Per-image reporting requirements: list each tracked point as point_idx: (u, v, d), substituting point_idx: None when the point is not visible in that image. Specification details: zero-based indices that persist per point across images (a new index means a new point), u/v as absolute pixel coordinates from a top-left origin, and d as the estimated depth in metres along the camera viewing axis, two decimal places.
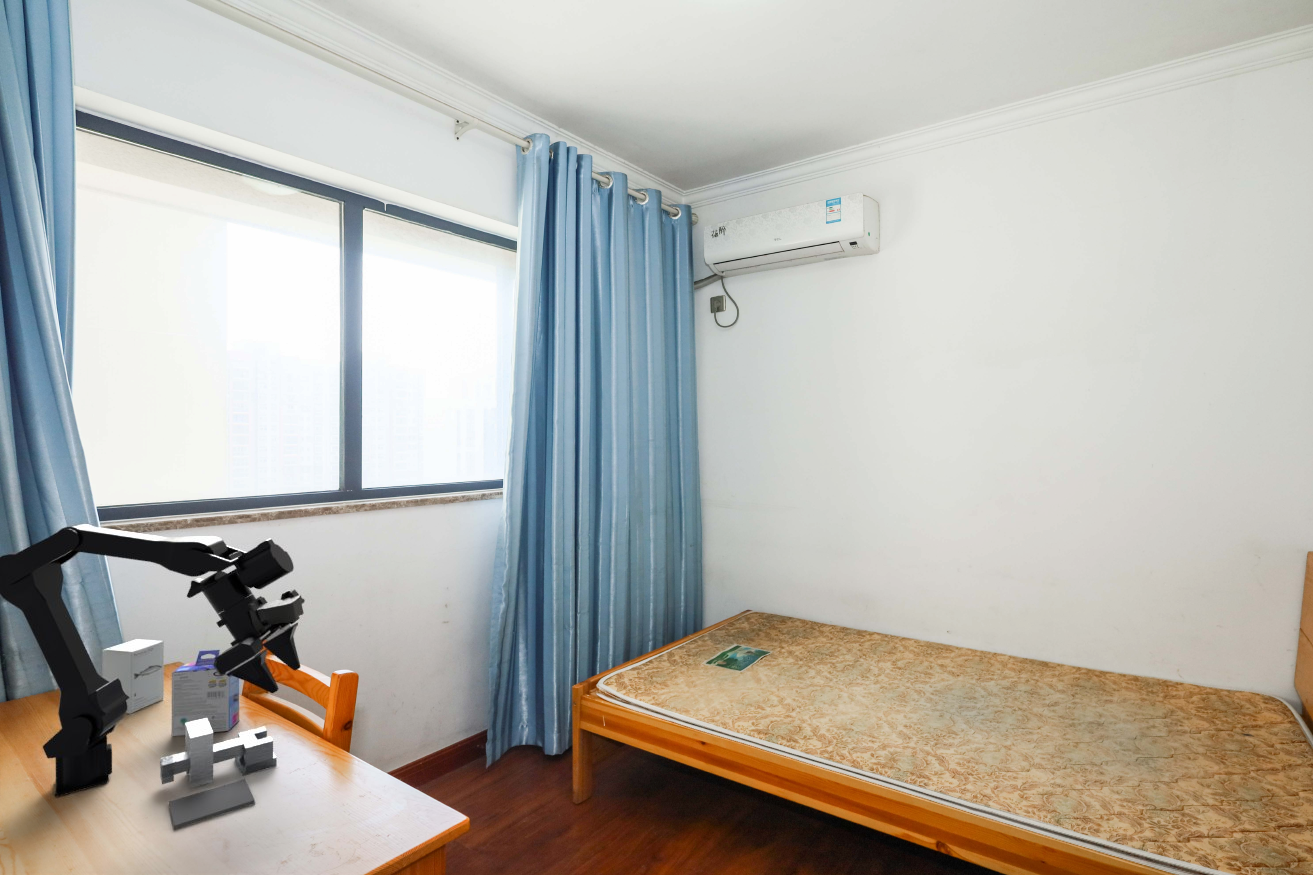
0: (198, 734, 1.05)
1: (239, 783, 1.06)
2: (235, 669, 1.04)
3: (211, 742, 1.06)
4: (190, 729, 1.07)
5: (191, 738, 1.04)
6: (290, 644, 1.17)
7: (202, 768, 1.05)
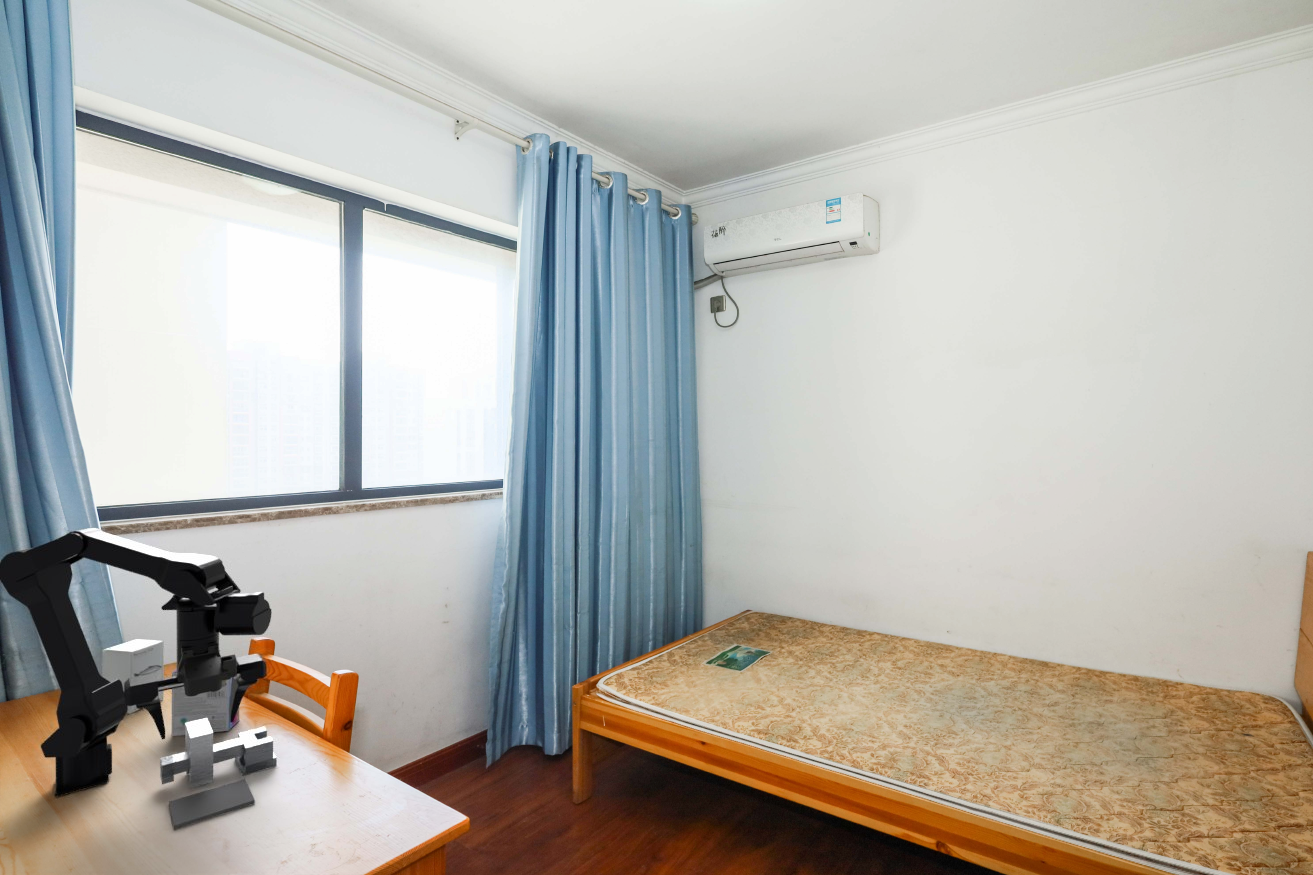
0: (198, 734, 1.05)
1: (239, 783, 1.06)
2: None
3: (211, 742, 1.06)
4: (190, 729, 1.07)
5: (191, 738, 1.04)
6: (234, 697, 1.10)
7: (202, 768, 1.05)
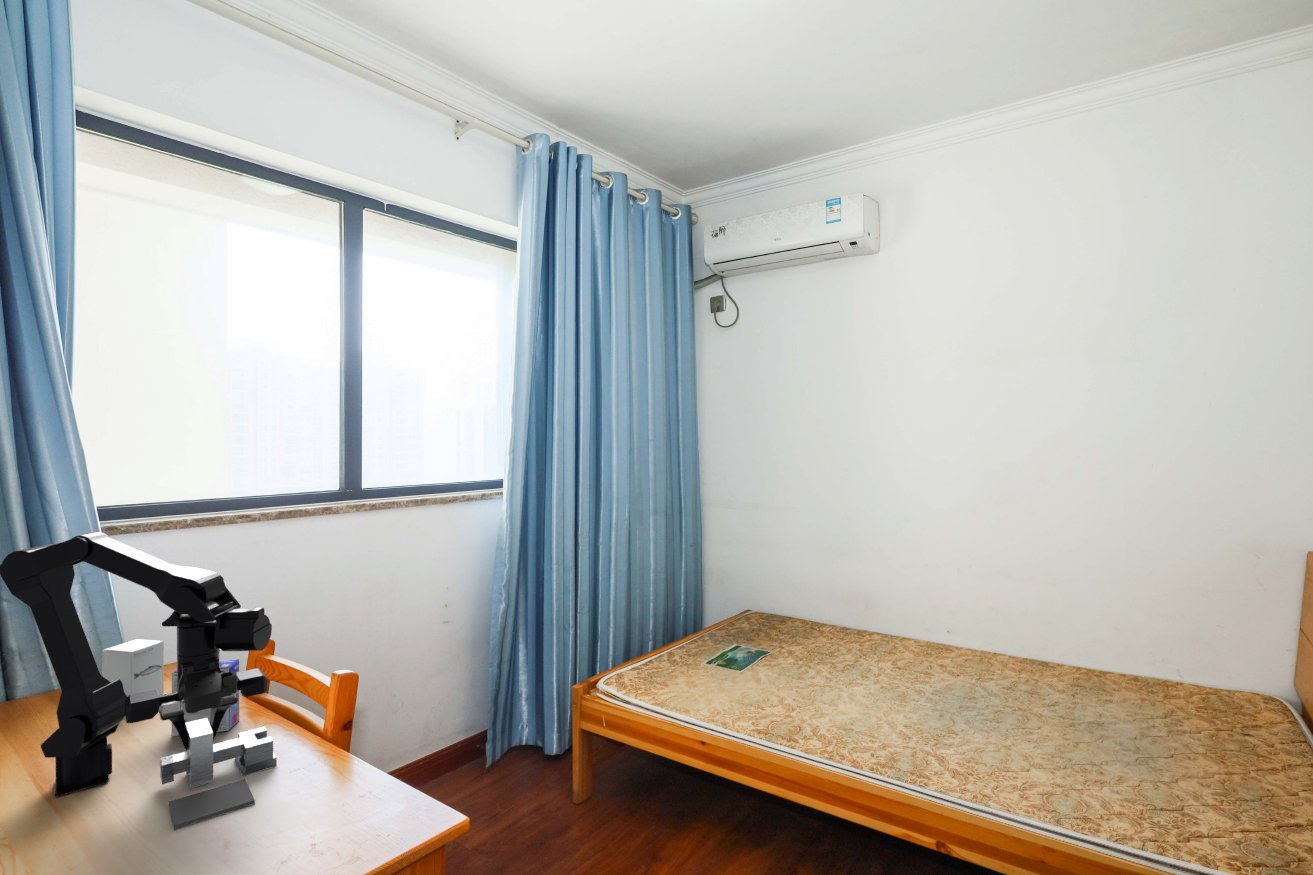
0: (198, 734, 1.05)
1: (239, 783, 1.06)
2: None
3: (211, 742, 1.06)
4: (190, 729, 1.07)
5: (191, 738, 1.04)
6: (213, 717, 1.08)
7: (202, 768, 1.05)
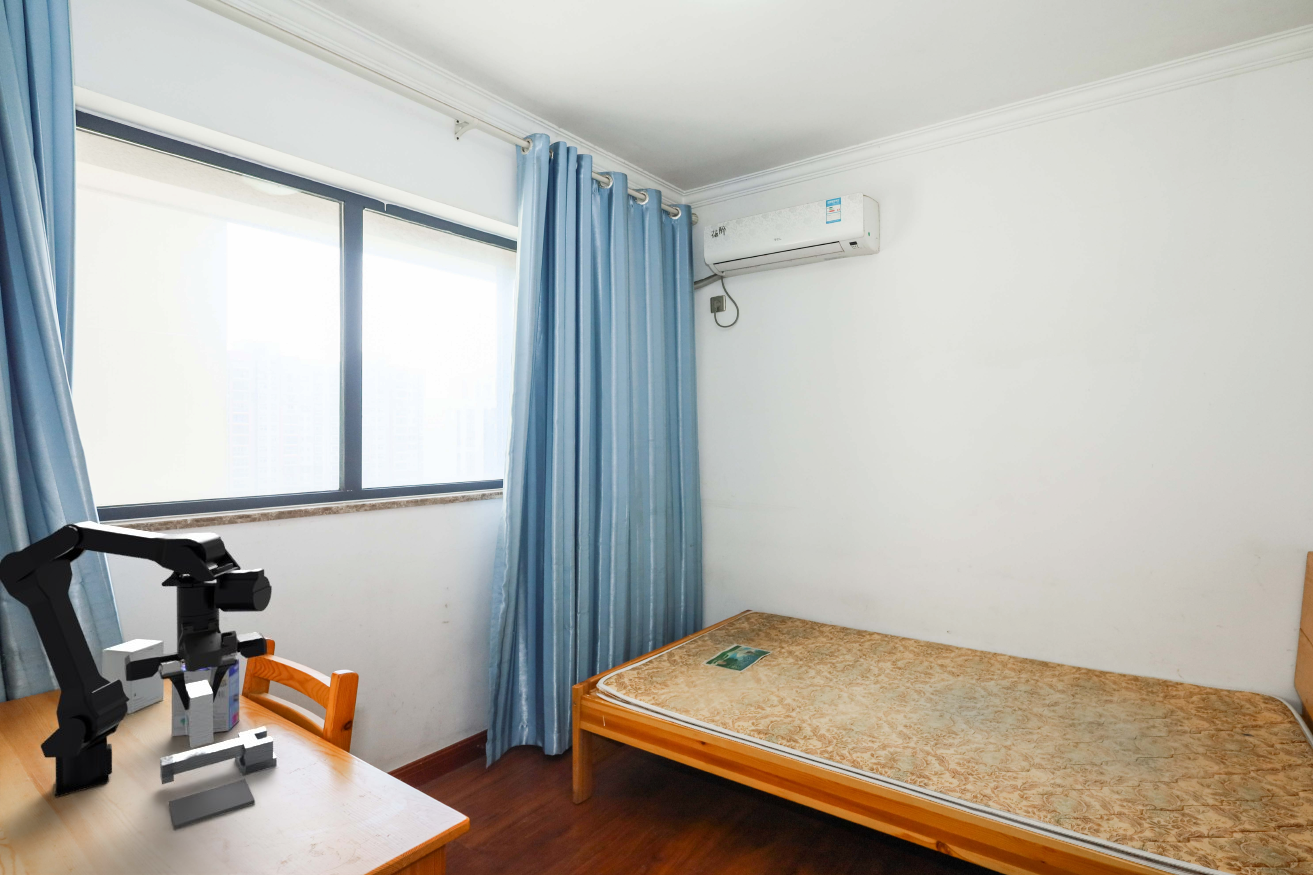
0: (198, 694, 1.05)
1: (239, 783, 1.06)
2: (159, 670, 1.05)
3: (211, 702, 1.06)
4: (190, 690, 1.07)
5: (191, 698, 1.04)
6: (213, 678, 1.08)
7: (202, 728, 1.05)
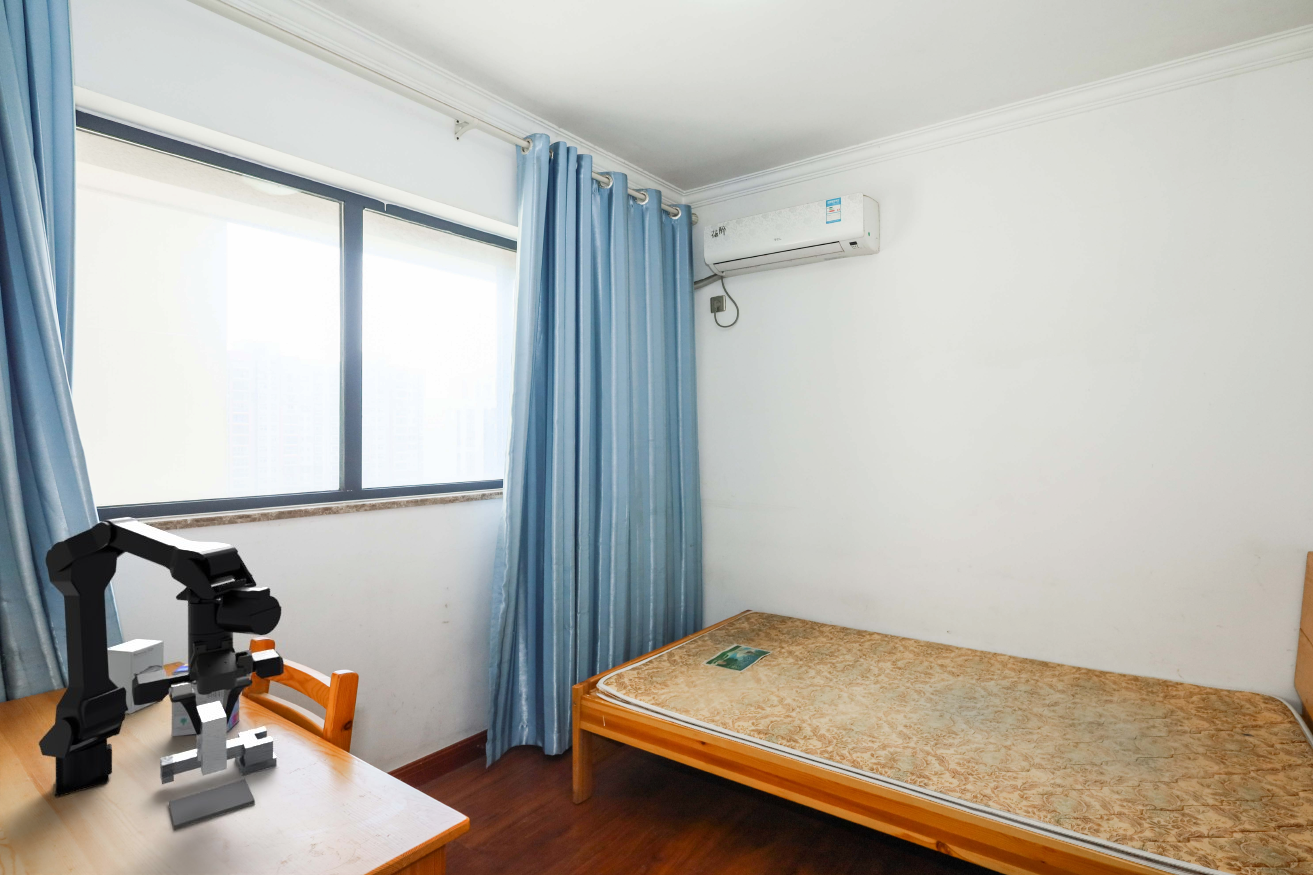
0: (210, 718, 0.98)
1: (239, 783, 1.06)
2: (169, 692, 0.98)
3: (224, 726, 0.99)
4: (202, 713, 1.00)
5: (203, 722, 0.97)
6: (227, 700, 1.01)
7: (215, 754, 0.98)
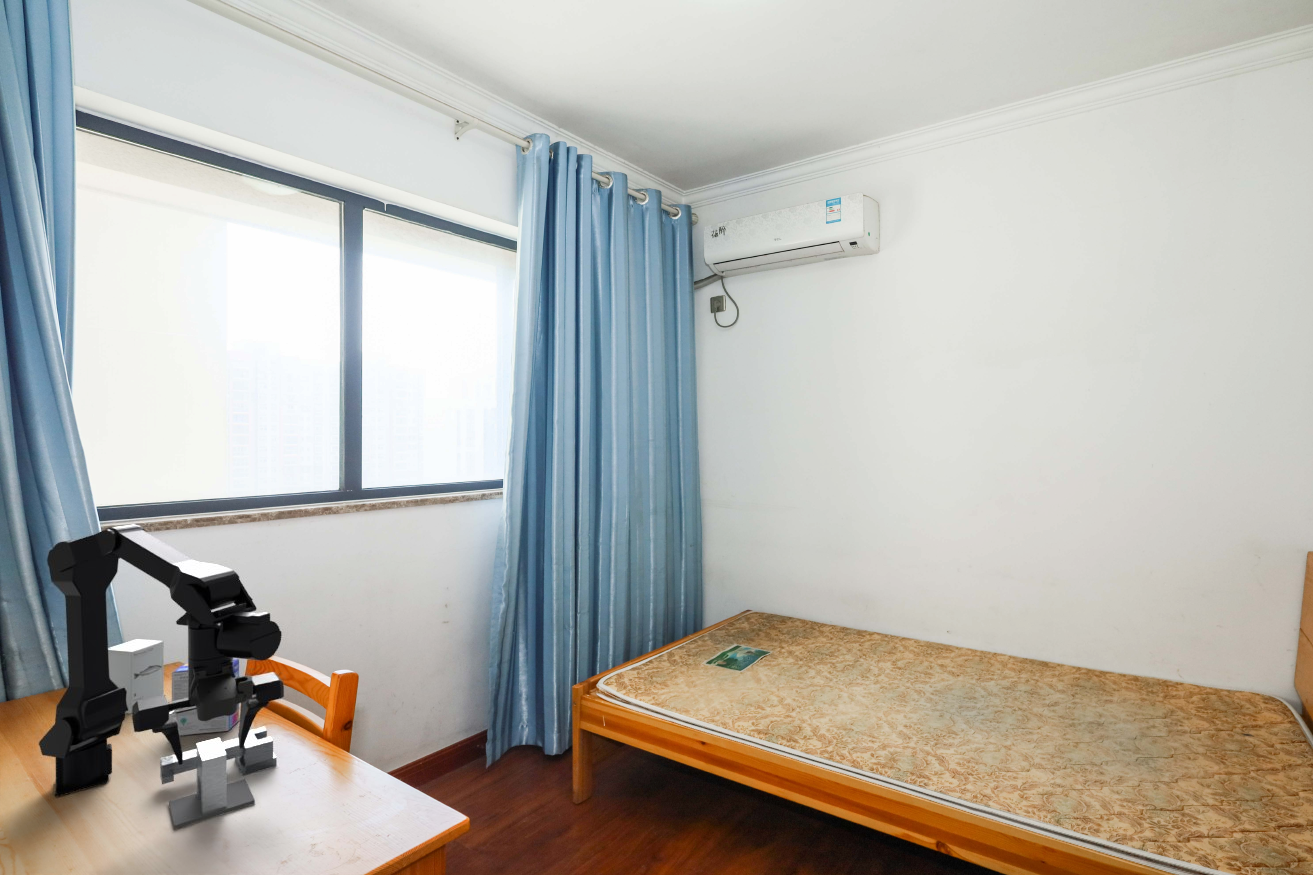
0: (210, 756, 0.98)
1: (239, 783, 1.06)
2: None
3: (224, 765, 0.99)
4: (202, 751, 1.00)
5: (203, 761, 0.97)
6: (243, 721, 1.02)
7: (215, 793, 0.98)
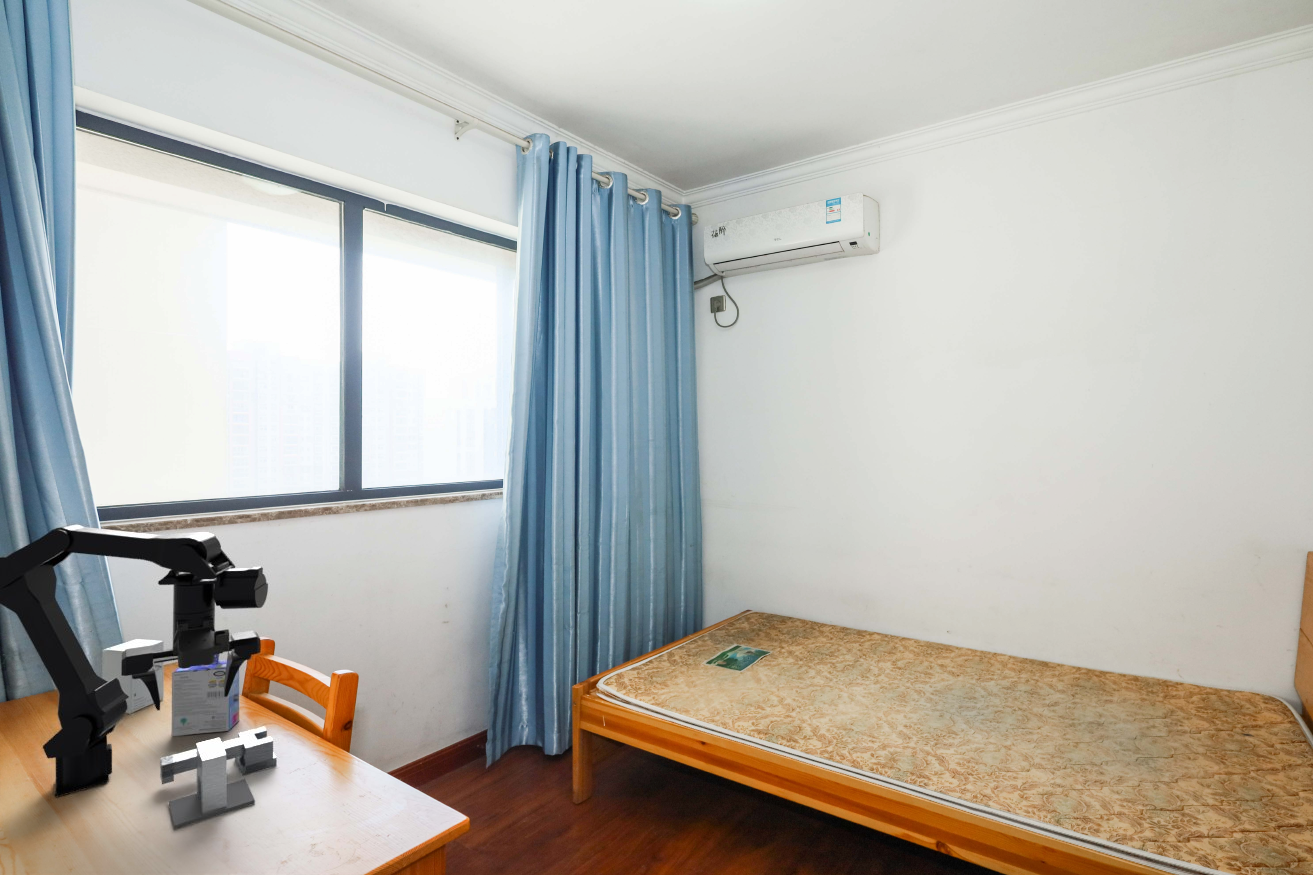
0: (210, 756, 0.98)
1: (239, 783, 1.06)
2: None
3: (224, 765, 0.99)
4: (202, 751, 1.00)
5: (203, 761, 0.97)
6: (228, 672, 1.12)
7: (215, 793, 0.98)
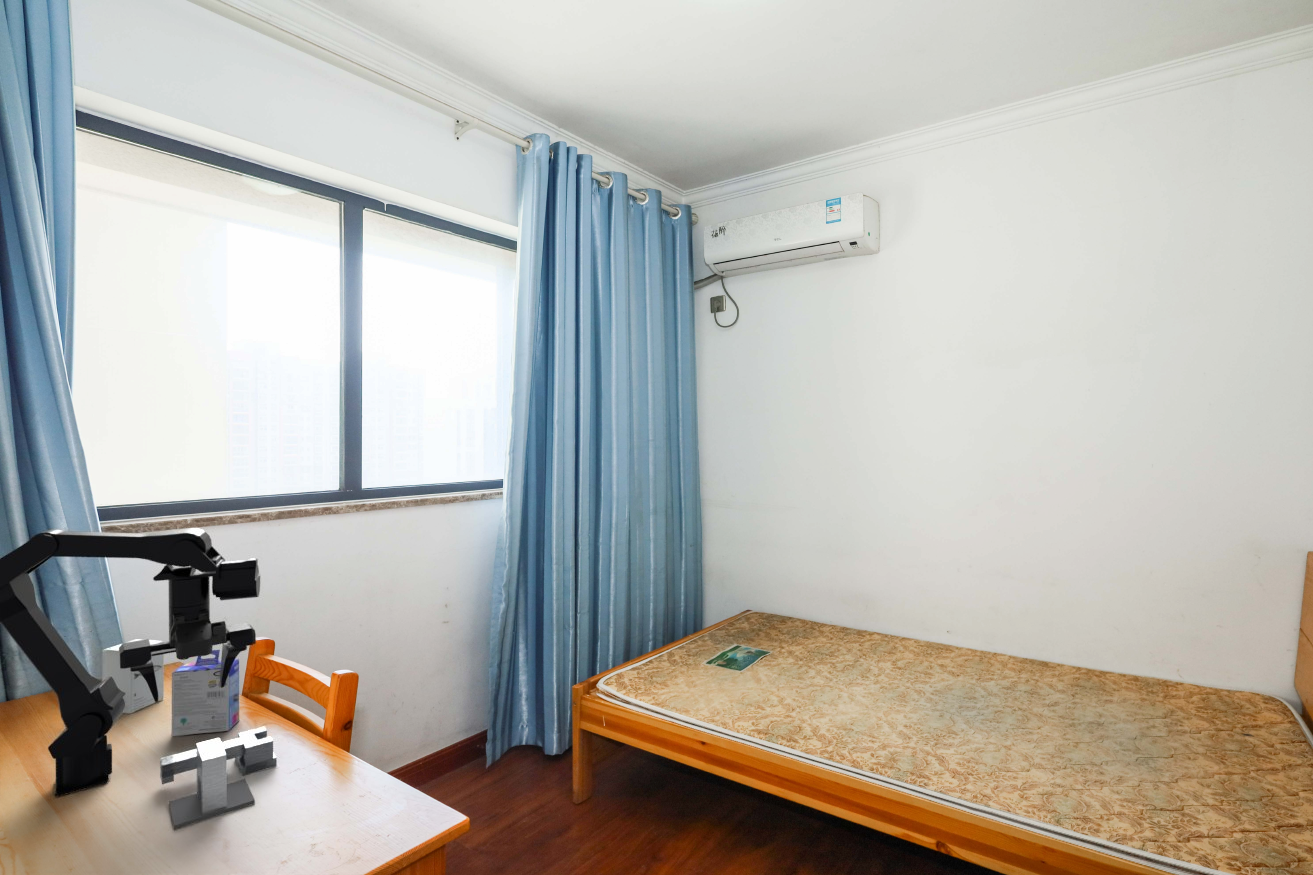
0: (210, 756, 0.98)
1: (239, 783, 1.06)
2: None
3: (224, 765, 0.99)
4: (202, 751, 1.00)
5: (203, 761, 0.97)
6: (224, 663, 1.15)
7: (215, 793, 0.98)
